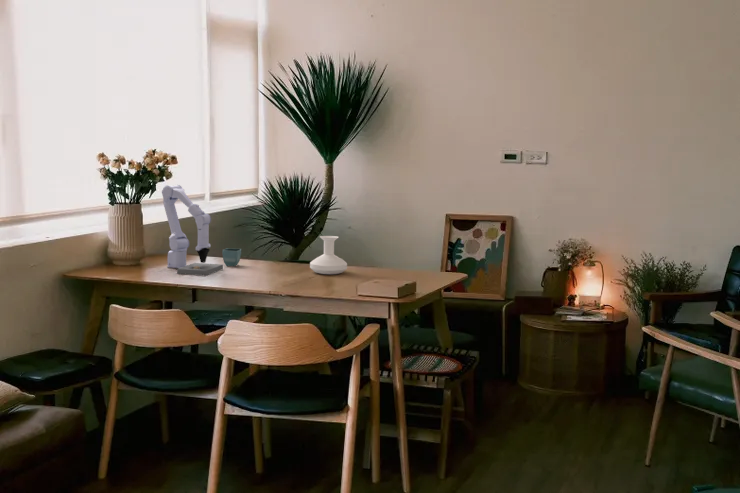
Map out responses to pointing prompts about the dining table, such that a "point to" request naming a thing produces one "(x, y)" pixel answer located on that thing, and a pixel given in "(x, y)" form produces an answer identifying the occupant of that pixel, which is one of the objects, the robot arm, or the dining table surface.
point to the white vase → (328, 259)
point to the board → (204, 269)
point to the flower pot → (231, 256)
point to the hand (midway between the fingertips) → (203, 262)
